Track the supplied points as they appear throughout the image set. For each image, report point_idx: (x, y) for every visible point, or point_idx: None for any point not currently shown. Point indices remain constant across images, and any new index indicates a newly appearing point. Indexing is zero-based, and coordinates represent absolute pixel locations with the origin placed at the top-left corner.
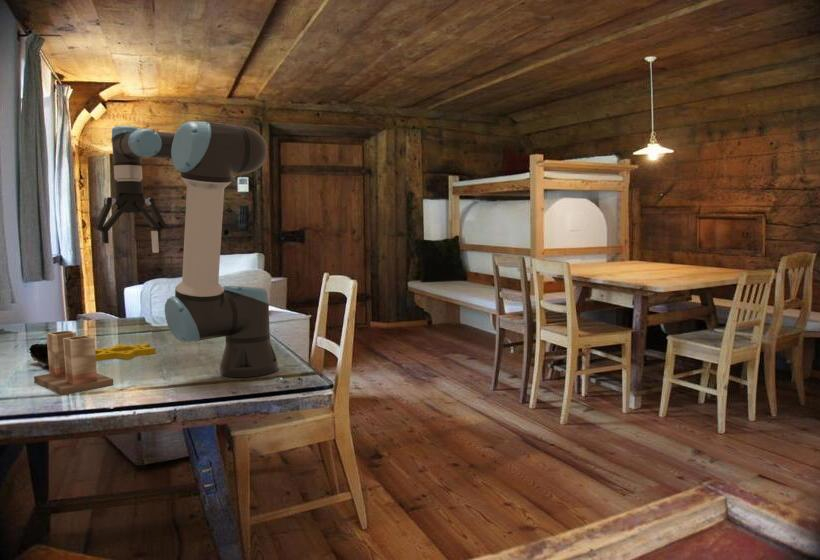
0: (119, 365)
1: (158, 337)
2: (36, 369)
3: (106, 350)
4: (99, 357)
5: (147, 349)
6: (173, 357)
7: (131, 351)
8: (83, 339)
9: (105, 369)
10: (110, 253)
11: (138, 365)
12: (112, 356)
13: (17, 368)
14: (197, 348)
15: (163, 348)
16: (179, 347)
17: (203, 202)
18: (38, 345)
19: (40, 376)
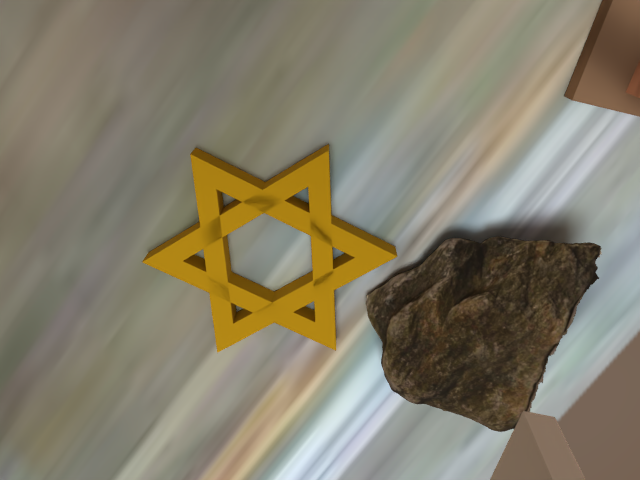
0: (411, 88)
1: (5, 397)
2: None
3: (314, 293)
4: (380, 243)
5: (220, 168)
6: (205, 3)
7: (283, 188)
8: None
9: (484, 75)
10: (559, 429)
11: (381, 9)
12: (340, 223)
13: (567, 371)
14: (28, 67)
15: (115, 207)
16: (64, 162)
17: None
18: (492, 429)
19: None
